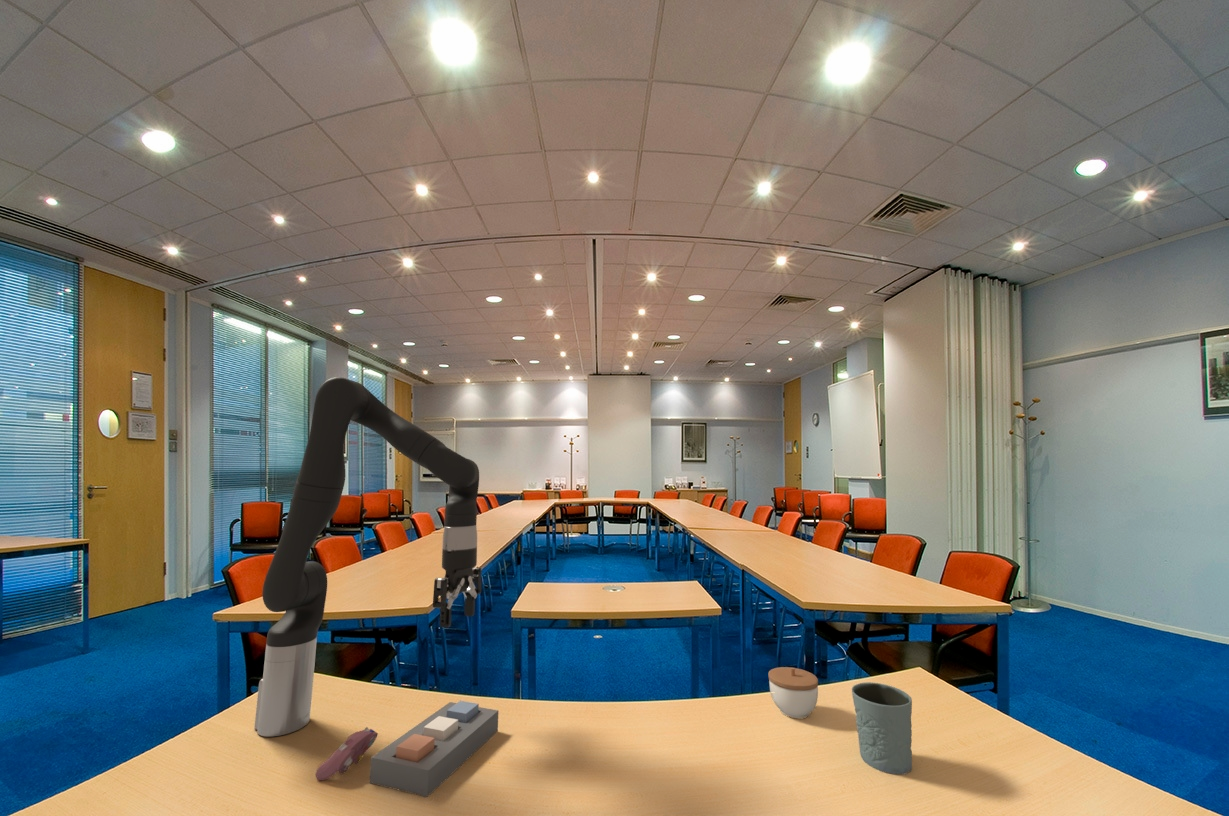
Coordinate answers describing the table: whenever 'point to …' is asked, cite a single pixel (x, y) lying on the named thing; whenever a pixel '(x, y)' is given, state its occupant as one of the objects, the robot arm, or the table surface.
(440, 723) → the off-white key
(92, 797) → the table surface
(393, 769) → the key console
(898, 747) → the grey embossed vase
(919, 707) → the table surface
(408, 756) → the terracotta key
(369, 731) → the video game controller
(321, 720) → the table surface
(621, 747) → the table surface
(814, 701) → the lidded jar
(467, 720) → the slate blue key
